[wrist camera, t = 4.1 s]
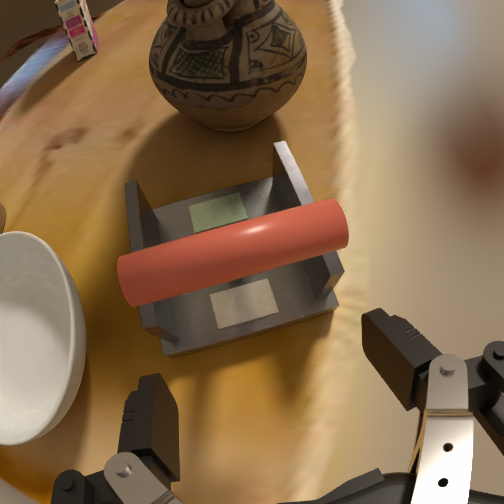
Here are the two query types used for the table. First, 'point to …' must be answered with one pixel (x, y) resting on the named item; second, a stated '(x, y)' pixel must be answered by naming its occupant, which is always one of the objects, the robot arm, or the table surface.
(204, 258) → the switch lever
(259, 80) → the decorative pitcher
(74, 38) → the candy bar box
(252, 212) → the switch box
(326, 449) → the table surface
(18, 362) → the serving bowl
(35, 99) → the table surface
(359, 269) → the table surface
